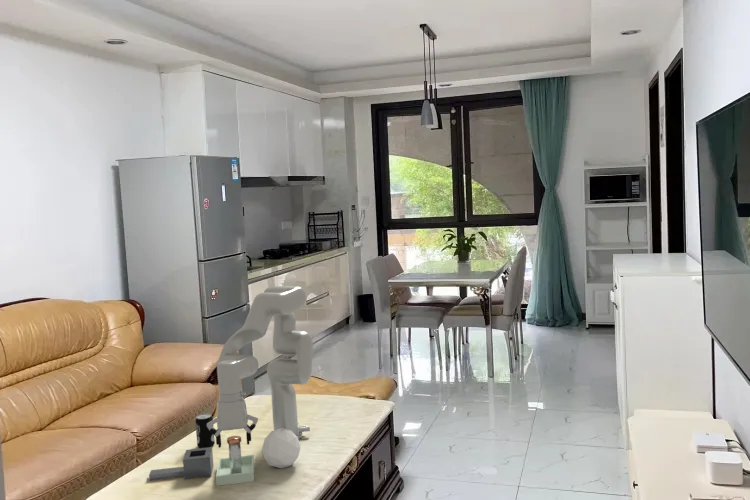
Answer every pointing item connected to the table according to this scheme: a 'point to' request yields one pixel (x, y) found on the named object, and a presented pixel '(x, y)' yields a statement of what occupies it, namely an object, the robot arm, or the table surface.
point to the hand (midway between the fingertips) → (234, 444)
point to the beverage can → (204, 431)
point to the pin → (235, 454)
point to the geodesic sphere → (281, 448)
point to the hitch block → (189, 466)
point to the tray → (246, 476)
